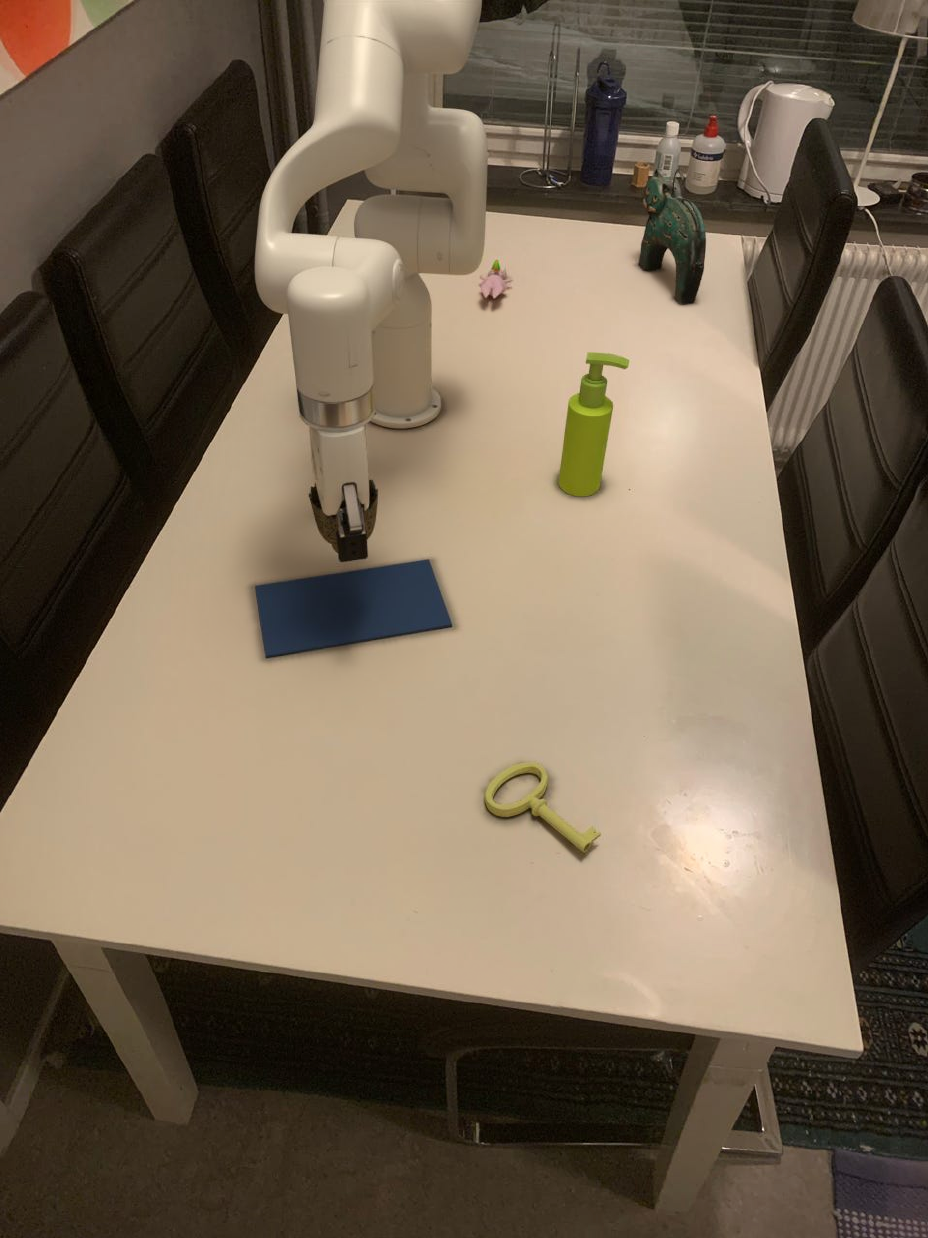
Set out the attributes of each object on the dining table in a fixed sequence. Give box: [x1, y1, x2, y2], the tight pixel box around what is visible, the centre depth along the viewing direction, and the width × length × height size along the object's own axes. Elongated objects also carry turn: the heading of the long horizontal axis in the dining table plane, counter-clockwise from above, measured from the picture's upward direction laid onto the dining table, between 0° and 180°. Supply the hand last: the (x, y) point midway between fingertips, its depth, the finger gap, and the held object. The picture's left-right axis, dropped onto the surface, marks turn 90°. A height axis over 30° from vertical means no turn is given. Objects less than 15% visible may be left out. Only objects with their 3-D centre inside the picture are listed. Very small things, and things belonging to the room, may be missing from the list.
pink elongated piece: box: [479, 259, 514, 299], centre depth 168 cm, size 6×6×15 cm
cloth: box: [254, 558, 453, 659], centre depth 111 cm, size 12×22×1 cm, turn 105°
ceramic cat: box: [638, 168, 707, 305], centre depth 168 cm, size 20×6×20 cm, turn 17°
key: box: [484, 761, 602, 853], centre depth 91 cm, size 7×12×2 cm, turn 60°
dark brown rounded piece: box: [308, 478, 379, 554], centre depth 101 cm, size 8×7×8 cm
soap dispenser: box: [558, 351, 630, 497], centre depth 122 cm, size 6×7×20 cm
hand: (347, 535), depth 103 cm, fingers closed on dark brown rounded piece, 7 cm apart
